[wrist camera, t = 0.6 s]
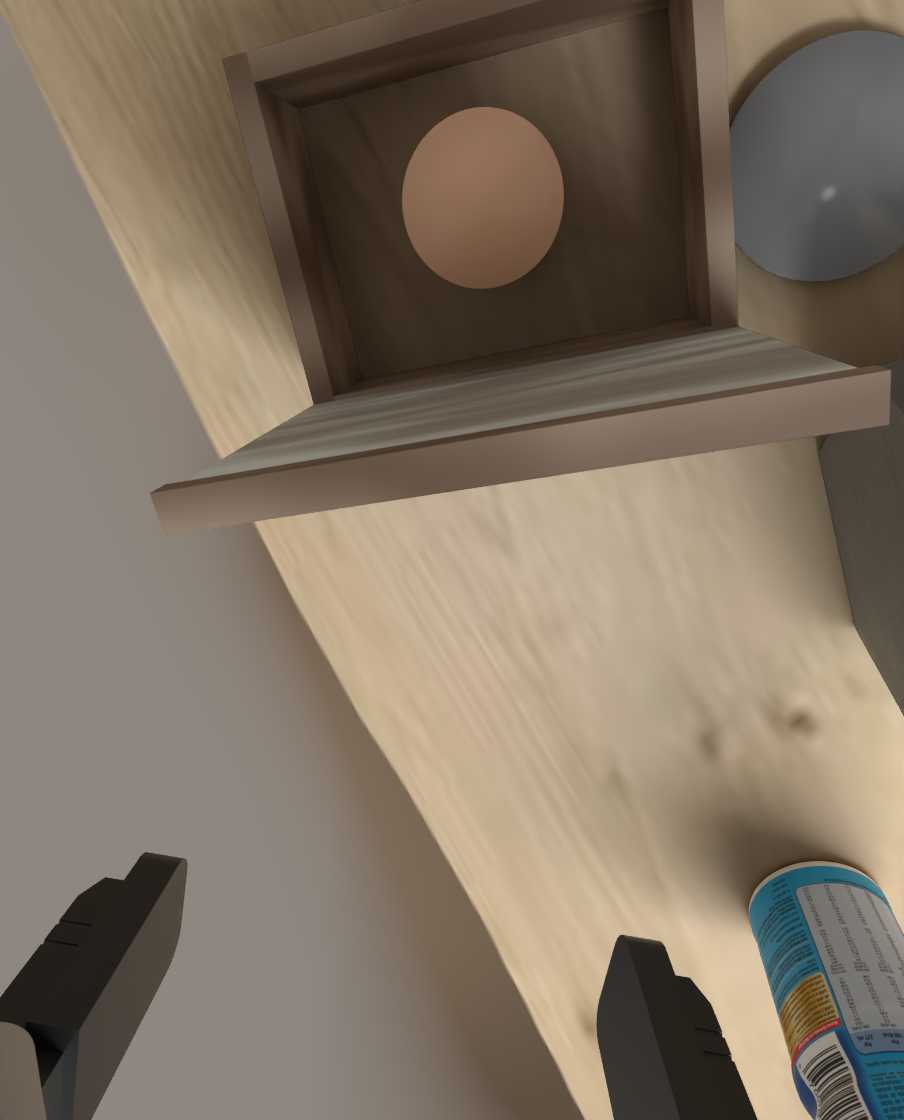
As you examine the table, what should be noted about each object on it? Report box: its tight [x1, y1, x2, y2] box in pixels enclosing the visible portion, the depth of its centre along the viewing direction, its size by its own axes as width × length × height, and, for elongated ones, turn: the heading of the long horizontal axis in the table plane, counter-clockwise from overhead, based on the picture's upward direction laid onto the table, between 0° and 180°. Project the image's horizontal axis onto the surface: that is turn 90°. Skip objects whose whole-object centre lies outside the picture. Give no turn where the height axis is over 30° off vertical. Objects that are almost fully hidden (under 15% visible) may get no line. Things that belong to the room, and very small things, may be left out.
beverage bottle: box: [749, 861, 904, 1120], centre depth 36 cm, size 8×8×20 cm
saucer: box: [729, 30, 904, 281], centre depth 29 cm, size 9×9×1 cm
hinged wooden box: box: [150, 0, 891, 535], centre depth 23 cm, size 14×18×19 cm
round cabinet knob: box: [402, 107, 564, 289], centre depth 29 cm, size 6×6×8 cm
